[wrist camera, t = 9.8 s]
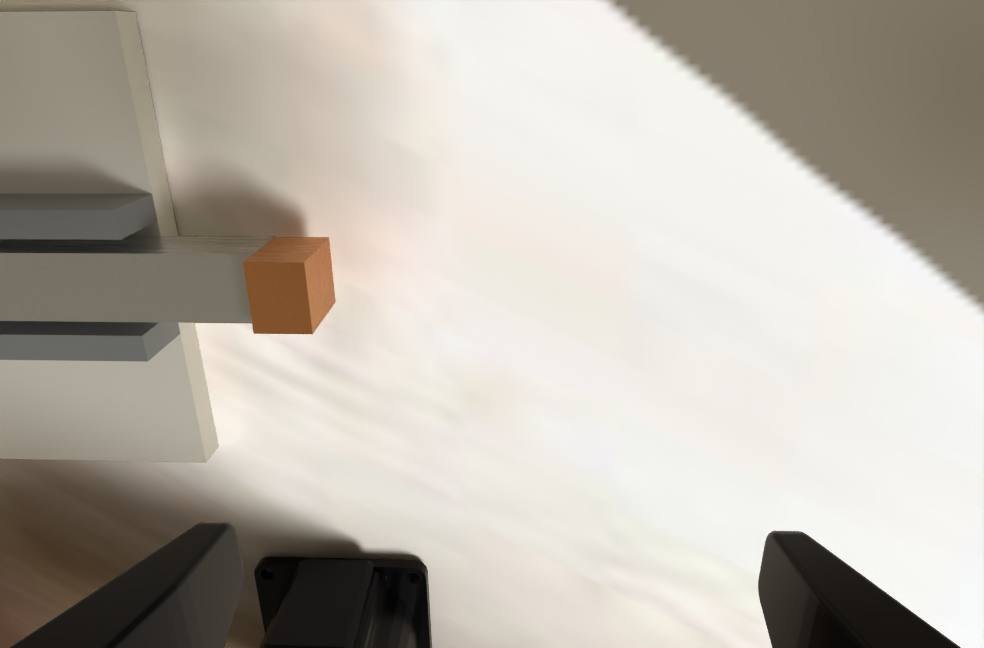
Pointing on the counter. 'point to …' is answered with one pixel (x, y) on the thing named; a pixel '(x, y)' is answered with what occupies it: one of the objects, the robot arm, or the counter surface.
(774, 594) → the robot arm
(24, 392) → the dock
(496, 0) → the counter surface
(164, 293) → the lock pin
